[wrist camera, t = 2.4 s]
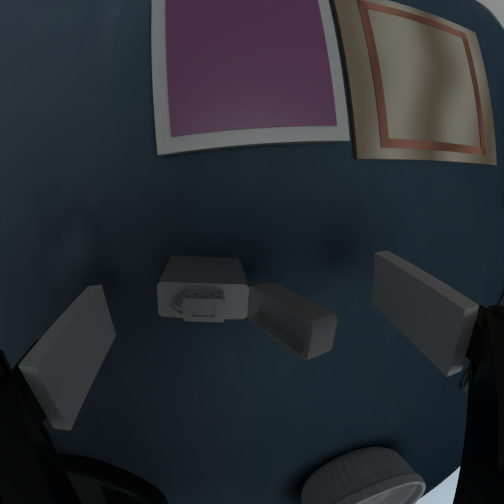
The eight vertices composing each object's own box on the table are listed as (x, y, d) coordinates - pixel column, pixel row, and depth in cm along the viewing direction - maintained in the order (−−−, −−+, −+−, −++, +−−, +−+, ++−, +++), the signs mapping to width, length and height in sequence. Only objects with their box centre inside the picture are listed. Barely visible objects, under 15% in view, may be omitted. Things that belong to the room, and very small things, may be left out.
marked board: (354, 159, 17) (358, 158, 16) (329, -9, 14) (331, -13, 13) (493, 165, 18) (497, 165, 18) (472, 33, 15) (476, 32, 15)
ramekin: (349, 429, 23) (377, 484, 17) (420, 441, 26) (446, 479, 20) (268, 496, 25) (279, 545, 19) (348, 501, 29) (364, 538, 22)
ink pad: (162, 156, 16) (156, 154, 14) (156, 5, 13) (151, -10, 11) (338, 142, 17) (352, 140, 15) (317, 0, 14) (327, -14, 12)
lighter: (169, 283, 18) (143, 362, 10) (169, 255, 17) (139, 320, 9) (288, 286, 19) (335, 361, 11) (291, 259, 18) (344, 322, 10)
